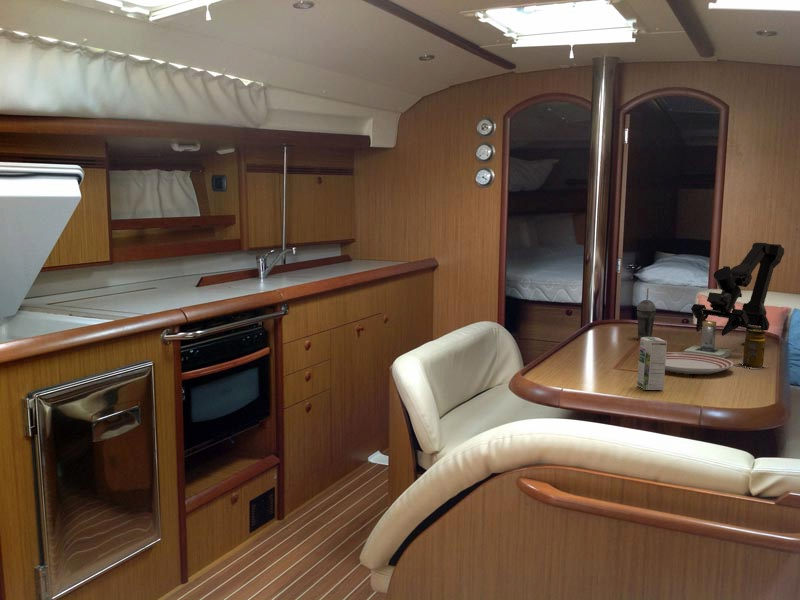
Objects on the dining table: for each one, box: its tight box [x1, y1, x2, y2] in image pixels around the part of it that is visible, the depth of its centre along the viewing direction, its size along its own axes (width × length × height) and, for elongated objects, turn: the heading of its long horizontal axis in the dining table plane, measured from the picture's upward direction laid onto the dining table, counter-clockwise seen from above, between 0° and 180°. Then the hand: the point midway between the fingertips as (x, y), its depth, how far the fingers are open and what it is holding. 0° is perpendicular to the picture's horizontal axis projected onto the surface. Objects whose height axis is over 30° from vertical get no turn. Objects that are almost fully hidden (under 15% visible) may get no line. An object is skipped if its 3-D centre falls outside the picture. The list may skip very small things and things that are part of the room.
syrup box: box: [636, 336, 668, 391], centre depth 209 cm, size 6×6×14 cm
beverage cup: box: [636, 288, 657, 341], centre depth 282 cm, size 7×7×20 cm
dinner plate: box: [665, 351, 734, 375], centre depth 236 cm, size 28×27×3 cm
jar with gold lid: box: [700, 320, 717, 353], centre depth 256 cm, size 4×4×12 cm
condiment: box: [733, 329, 769, 370], centre depth 240 cm, size 7×8×12 cm
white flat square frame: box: [683, 344, 731, 359], centre depth 256 cm, size 12×12×2 cm
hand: (709, 332), depth 256 cm, fingers open, 9 cm apart
